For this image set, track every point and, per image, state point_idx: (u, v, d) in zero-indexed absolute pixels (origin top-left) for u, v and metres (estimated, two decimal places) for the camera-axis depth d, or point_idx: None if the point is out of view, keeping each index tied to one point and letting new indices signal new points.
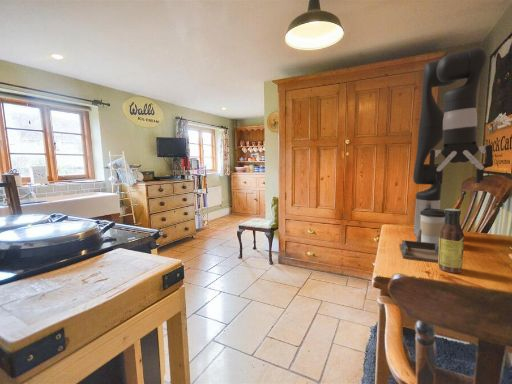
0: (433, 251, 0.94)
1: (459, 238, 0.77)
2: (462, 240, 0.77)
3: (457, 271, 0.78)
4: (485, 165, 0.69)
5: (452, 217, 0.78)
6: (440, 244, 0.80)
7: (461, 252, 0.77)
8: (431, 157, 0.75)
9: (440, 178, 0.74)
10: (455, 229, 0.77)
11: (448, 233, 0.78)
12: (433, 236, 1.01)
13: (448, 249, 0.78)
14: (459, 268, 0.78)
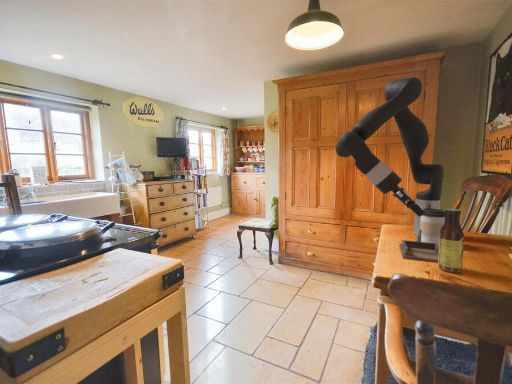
0: (433, 251, 0.94)
1: (459, 238, 0.77)
2: (462, 240, 0.77)
3: (457, 271, 0.78)
4: None
5: (452, 217, 0.78)
6: (440, 244, 0.80)
7: (461, 252, 0.77)
8: None
9: None
10: (455, 229, 0.77)
11: (448, 233, 0.78)
12: (433, 236, 1.01)
13: (448, 249, 0.78)
14: (459, 268, 0.78)
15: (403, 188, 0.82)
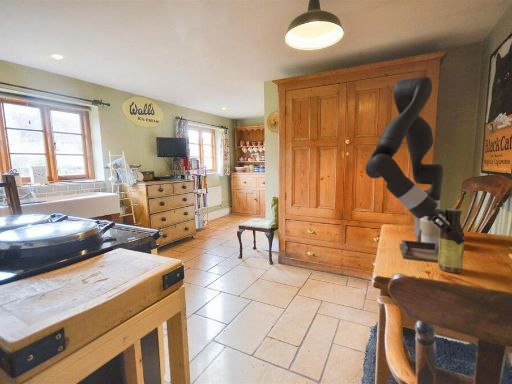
0: (433, 251, 0.94)
1: None
2: None
3: (457, 271, 0.78)
4: None
5: (452, 217, 0.77)
6: (440, 244, 0.80)
7: (461, 252, 0.77)
8: None
9: None
10: (455, 229, 0.77)
11: None
12: (433, 236, 1.01)
13: (448, 249, 0.78)
14: (459, 268, 0.77)
15: None
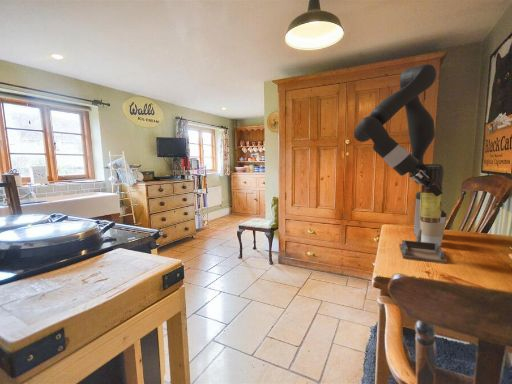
0: (433, 251, 0.94)
1: None
2: None
3: (436, 221, 0.86)
4: None
5: (431, 173, 0.85)
6: (421, 198, 0.88)
7: (439, 204, 0.85)
8: None
9: None
10: (434, 183, 0.85)
11: None
12: (433, 236, 1.01)
13: (428, 201, 0.86)
14: (438, 218, 0.86)
15: (420, 169, 0.86)
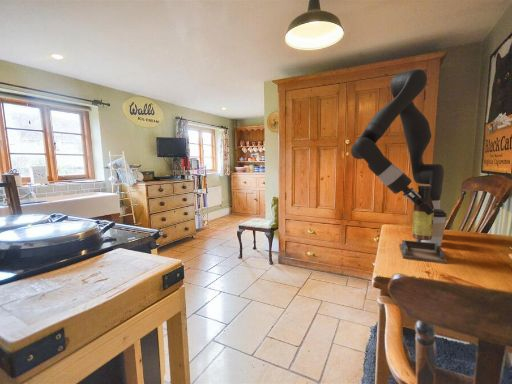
0: (433, 251, 0.94)
1: None
2: None
3: (427, 239, 0.89)
4: None
5: (423, 192, 0.89)
6: (414, 216, 0.92)
7: (431, 222, 0.89)
8: None
9: None
10: (426, 202, 0.88)
11: None
12: (433, 236, 1.01)
13: (420, 219, 0.89)
14: (429, 236, 0.89)
15: (413, 189, 0.90)
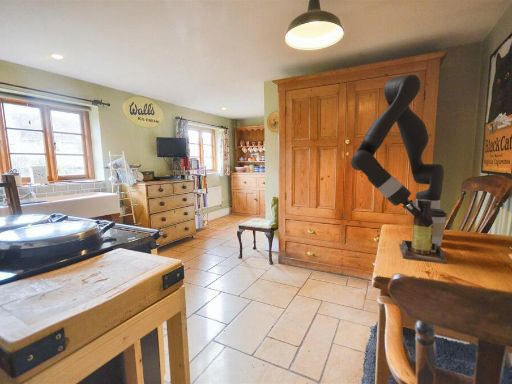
0: (433, 251, 0.94)
1: None
2: (431, 226, 0.89)
3: (426, 253, 0.90)
4: None
5: (423, 207, 0.90)
6: (413, 230, 0.92)
7: (430, 237, 0.89)
8: None
9: None
10: None
11: None
12: (433, 236, 1.01)
13: (419, 234, 0.90)
14: (428, 250, 0.90)
15: (412, 201, 0.91)
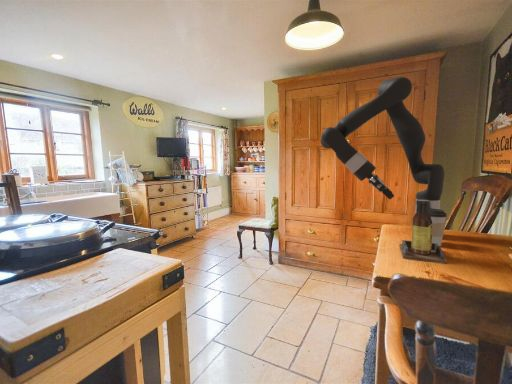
0: (433, 251, 0.94)
1: (428, 224, 0.89)
2: (430, 226, 0.89)
3: (426, 253, 0.90)
4: None
5: (422, 207, 0.90)
6: (412, 230, 0.93)
7: (430, 237, 0.89)
8: None
9: None
10: (424, 217, 0.89)
11: (419, 220, 0.90)
12: (433, 236, 1.01)
13: (419, 234, 0.90)
14: (428, 250, 0.90)
15: (377, 175, 0.94)
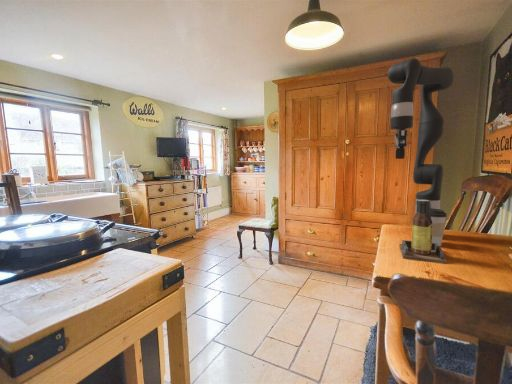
0: (433, 251, 0.94)
1: (428, 224, 0.89)
2: (430, 226, 0.89)
3: (426, 253, 0.90)
4: None
5: (422, 207, 0.90)
6: (412, 230, 0.93)
7: (430, 237, 0.89)
8: None
9: None
10: (424, 217, 0.89)
11: (419, 220, 0.90)
12: (433, 236, 1.01)
13: (419, 234, 0.90)
14: (428, 250, 0.90)
15: None
